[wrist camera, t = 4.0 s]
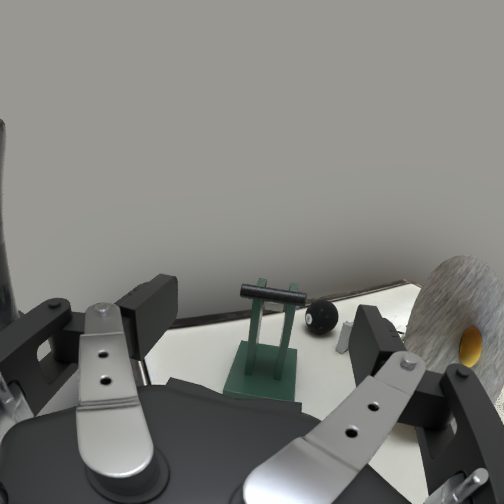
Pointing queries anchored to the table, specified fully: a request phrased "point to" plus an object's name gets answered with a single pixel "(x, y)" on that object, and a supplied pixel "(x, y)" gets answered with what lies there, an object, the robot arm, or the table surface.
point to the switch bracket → (264, 360)
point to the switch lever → (273, 296)
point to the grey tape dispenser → (344, 337)
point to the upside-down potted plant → (460, 322)
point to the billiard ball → (321, 316)
